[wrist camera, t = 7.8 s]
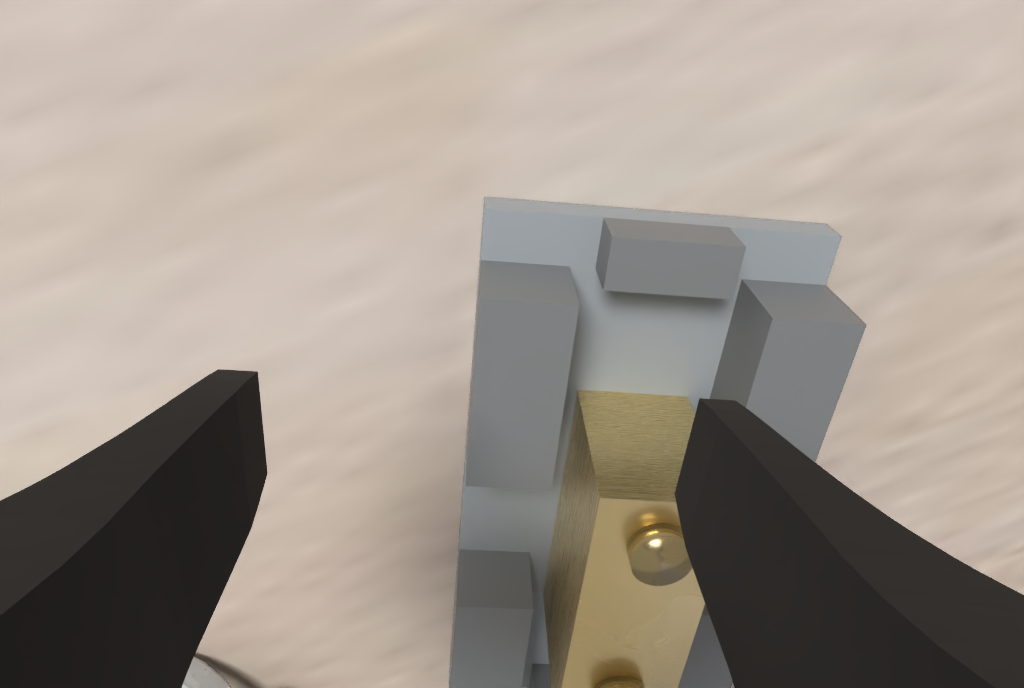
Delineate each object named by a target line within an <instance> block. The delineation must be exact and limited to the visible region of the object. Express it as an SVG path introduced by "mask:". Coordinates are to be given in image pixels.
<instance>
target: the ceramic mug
mask: <svg viewBox="0 0 1024 688" xmlns="http://www.w3.org/2000/svg"><path fill="white" fill-rule="evenodd" d="M182 688H231V686H230V685H229V683H228V682H227V681H226V680H225V679H224V678H223V677H222V676H221V675H219V674H218V673H217V672H216V671H215V670H214V669H213V668H211V667H210V666H208V663H206V662H204V661H202V660H200V659H198V658H196V657H193V660H192V662H191V665H190V667H189V670H188V672H187V675H186V677H185V680H184V682H183V685H182Z"/></svg>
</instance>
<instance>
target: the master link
mask: <svg viewBox="0 0 1024 688" xmlns="http://www.w3.org/2000/svg"><path fill="white" fill-rule="evenodd" d="M694 417H695V412H694V410H693V408H692V405H691V403H690V401H689V399H688V397H686V396H671V395H656V394H640V393H625V392H610V391H594V390H579V389H577V394H576V400H575V406H574V412H573V418H572V424H571V430H570V436H569V442H568V448H567V454H566V459H565V465H564V471H563V477H562V483H561V489H560V495H559V501H558V507H557V513H556V519H555V525H554V531H553V537H552V543H551V549H550V555H549V561H548V567H547V573H546V579H545V585H544V591H543V600H544V611H545V622H546V633H547V644H548V656H549V667H550V678H551V688H678V685H679V682H680V679H681V676H682V673H683V670H684V667H685V664H686V661H687V657H688V654H689V651H690V648H691V645H692V642H693V639H694V636H695V633H696V630H697V627H698V624H699V621H700V618H701V615H702V612H703V609H704V606H705V601H704V599H703V596H702V593H701V590H700V588H699V585H698V582H697V579H696V576H695V573H694V570H693V568H692V565H691V562H690V559H689V556H688V553H687V550H686V547H685V543H684V538H683V534H682V529H681V525H680V520H679V514H678V509H677V504H676V499H675V490H676V486H677V483H678V479H679V475H680V471H681V467H682V463H683V460H684V456H685V452H686V448H687V444H688V440H689V437H690V433H691V429H692V425H693V421H694Z"/></svg>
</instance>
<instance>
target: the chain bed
mask: <svg viewBox="0 0 1024 688" xmlns="http://www.w3.org/2000/svg"><path fill="white" fill-rule="evenodd" d="M841 238H842V236H841V235H840V234H839V233H838V232H836V231H835V230H834V229H832V228H831V227H830V226H829V225H827V224H820V223H807V222H795V221H782V220H769V219H757V218H744V217H731V216H719V215H706V214H694V213H681V212H668V211H656V210H643V209H631V208H618V207H605V206H593V205H580V204H568V203H555V202H542V201H530V200H517V199H505V198H492V197H484V210H483V224H482V237H481V251H480V264H479V278H478V291H477V304H476V318H475V331H474V345H473V358H472V372H471V385H470V399H469V412H468V425H467V439H466V452H465V466H464V479H463V493H462V506H461V520H460V533H459V547H458V560H457V573H456V587H455V600H454V614H453V627H452V641H451V654H450V669H449V688H551V678H550V667H549V656H548V644H547V633H546V622H545V611H544V600H543V591H544V585H545V579H546V573H547V567H548V561H549V555H550V549H551V543H552V537H553V531H554V525H555V519H556V513H557V507H558V501H559V495H560V489H561V483H562V477H563V471H564V465H565V459H566V454H567V448H568V442H569V436H570V430H571V424H572V418H573V412H574V406H575V400H576V394H577V389H579V390H594V391H610V392H625V393H640V394H656V395H671V396H686V397H688V399H689V401H690V403H691V405H692V408H693V410H694V412H695V414H696V410H697V406H698V402H699V398H703V399H719V400H735V401H737V402H738V403H740V404H741V405H743V406H744V407H746V408H747V409H748V410H750V411H751V412H752V413H754V414H755V415H756V416H757V417H759V418H760V419H761V420H763V421H764V422H765V423H766V424H768V425H769V426H770V427H771V428H773V429H774V430H775V431H776V432H778V433H779V434H780V435H781V436H782V437H784V438H785V439H786V440H787V441H789V442H790V443H791V444H792V445H794V446H795V447H796V448H797V449H799V450H800V451H801V452H802V453H804V454H805V455H806V456H807V457H809V458H810V459H811V460H812V461H814V462H815V461H816V459H817V456H818V453H819V451H820V448H821V445H822V442H823V440H824V437H825V434H826V432H827V429H828V426H829V424H830V421H831V418H832V416H833V413H834V410H835V408H836V405H837V402H838V400H839V397H840V394H841V392H842V389H843V386H844V384H845V381H846V378H847V376H848V373H849V370H850V368H851V365H852V362H853V360H854V357H855V354H856V352H857V349H858V346H859V344H860V341H861V338H862V336H863V333H864V330H865V328H866V324H865V323H864V322H863V321H862V320H861V319H860V318H859V317H858V316H857V315H856V314H855V313H854V312H853V311H852V310H851V309H850V308H849V307H848V306H847V305H846V304H845V303H844V302H843V301H842V300H841V299H839V298H838V297H837V296H836V295H835V294H834V293H833V292H832V291H831V290H830V289H829V288H828V287H827V286H826V283H827V280H828V277H829V274H830V271H831V268H832V265H833V262H834V259H835V256H836V253H837V250H838V247H839V244H840V241H841ZM732 683H733V681H732V677H731V674H730V671H729V668H728V665H727V662H726V660H725V657H724V654H723V651H722V649H721V646H720V643H719V640H718V638H717V635H716V632H715V629H714V626H713V624H712V621H711V618H710V615H709V613H708V610H707V607H706V604H705V606H704V609H703V612H702V615H701V618H700V621H699V624H698V627H697V630H696V633H695V636H694V639H693V642H692V645H691V648H690V651H689V654H688V657H687V661H686V664H685V667H684V670H683V673H682V676H681V679H680V682H679V685H678V688H731V686H732Z"/></svg>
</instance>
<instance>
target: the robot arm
mask: <svg viewBox="0 0 1024 688" xmlns="http://www.w3.org/2000/svg"><path fill="white" fill-rule="evenodd" d="M266 476H267V465H266V455H265V445H264V434H263V424H262V413H261V403H260V392H259V382H258V372H253V371H236V370H219V369H218V370H217V371H215V372H213V373H212V374H210V375H208V376H207V377H205V378H204V379H202V380H200V381H199V382H197V383H196V384H194V385H193V386H191V387H190V388H188V389H187V390H185V391H184V392H183V393H181V394H180V395H178V396H177V397H175V398H174V399H172V400H171V401H169V402H168V403H166V404H165V405H163V406H162V407H160V408H159V409H157V410H156V411H154V412H153V413H151V414H150V415H148V416H147V417H145V418H144V419H142V420H141V421H139V422H138V423H136V424H135V425H133V426H131V427H130V428H128V429H127V430H125V431H124V432H122V433H121V434H119V435H118V436H116V437H114V438H112V439H111V440H109V441H107V442H106V443H104V444H102V445H101V446H99V447H97V448H96V449H94V450H92V451H91V452H89V453H87V454H86V455H84V456H82V457H81V458H79V459H77V460H76V461H74V462H72V463H71V464H69V465H67V466H66V467H64V468H62V469H61V470H59V471H57V472H55V473H53V474H52V475H50V476H48V477H46V478H44V479H42V480H41V481H39V482H37V483H35V484H33V485H31V486H29V487H27V488H25V489H23V490H21V491H19V492H17V493H15V494H13V495H11V496H9V497H7V498H5V499H3V500H1V501H0V688H182V685H183V682H184V680H185V677H186V675H187V672H188V670H189V667H190V665H191V662H192V660H193V657H194V655H195V652H196V650H197V648H198V646H199V643H200V641H201V639H202V637H203V635H204V632H205V630H206V628H207V626H208V624H209V621H210V619H211V617H212V615H213V612H214V610H215V608H216V606H217V604H218V601H219V599H220V597H221V595H222V593H223V590H224V588H225V586H226V584H227V582H228V579H229V577H230V575H231V573H232V571H233V568H234V566H235V564H236V562H237V559H238V557H239V555H240V553H241V550H242V548H243V546H244V544H245V541H246V539H247V537H248V534H249V532H250V530H251V527H252V524H253V521H254V517H255V514H256V511H257V508H258V505H259V501H260V497H261V494H262V490H263V487H264V483H265V480H266ZM675 499H676V504H677V509H678V514H679V520H680V525H681V529H682V534H683V538H684V543H685V547H686V550H687V553H688V556H689V559H690V562H691V565H692V568H693V570H694V573H695V576H696V579H697V582H698V585H699V588H700V590H701V593H702V596H703V599H704V601H705V604H706V607H707V610H708V613H709V615H710V618H711V621H712V624H713V626H714V629H715V632H716V635H717V638H718V640H719V643H720V646H721V649H722V651H723V654H724V657H725V660H726V662H727V665H728V668H729V671H730V674H731V677H732V681H733V684H734V687H735V688H1024V595H1022V594H1020V593H1018V592H1017V591H1015V590H1013V589H1011V588H1009V587H1007V586H1005V585H1003V584H1001V583H999V582H998V581H996V580H994V579H992V578H990V577H988V576H986V575H984V574H982V573H980V572H979V571H977V570H975V569H973V568H972V567H970V566H968V565H966V564H964V563H963V562H961V561H959V560H957V559H956V558H954V557H952V556H951V555H949V554H947V553H946V552H944V551H942V550H941V549H939V548H937V547H936V546H934V545H933V544H931V543H929V542H928V541H926V540H924V539H923V538H921V537H920V536H918V535H916V534H915V533H913V532H911V531H910V530H908V529H907V528H905V527H904V526H902V525H901V524H899V523H898V522H896V521H894V520H893V519H891V518H890V517H888V516H887V515H886V514H884V513H883V512H881V511H880V510H879V509H877V508H876V507H874V506H873V505H871V504H870V503H869V502H867V501H866V500H864V499H863V498H862V497H860V496H859V495H857V494H856V493H854V492H853V491H852V490H850V489H849V488H848V487H846V486H845V485H844V484H842V483H841V482H840V481H838V480H837V479H836V478H834V477H833V476H832V475H830V474H829V473H828V472H827V471H825V470H824V469H823V468H821V467H820V466H819V465H818V464H816V463H815V462H814V461H812V460H811V459H810V458H809V457H807V456H806V455H805V454H804V453H802V452H801V451H800V450H799V449H797V448H796V447H795V446H794V445H792V444H791V443H790V442H789V441H787V440H786V439H785V438H784V437H782V436H781V435H780V434H779V433H778V432H776V431H775V430H774V429H773V428H771V427H770V426H769V425H768V424H766V423H765V422H764V421H763V420H761V419H760V418H759V417H757V416H756V415H755V414H754V413H752V412H751V411H750V410H748V409H747V408H746V407H744V406H743V405H741V404H740V403H738V402H737V401H735V400H719V399H703V398H699V402H698V406H697V410H696V414H695V417H694V421H693V425H692V429H691V433H690V437H689V440H688V444H687V448H686V452H685V456H684V460H683V463H682V467H681V471H680V475H679V479H678V483H677V486H676V490H675Z"/></svg>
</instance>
